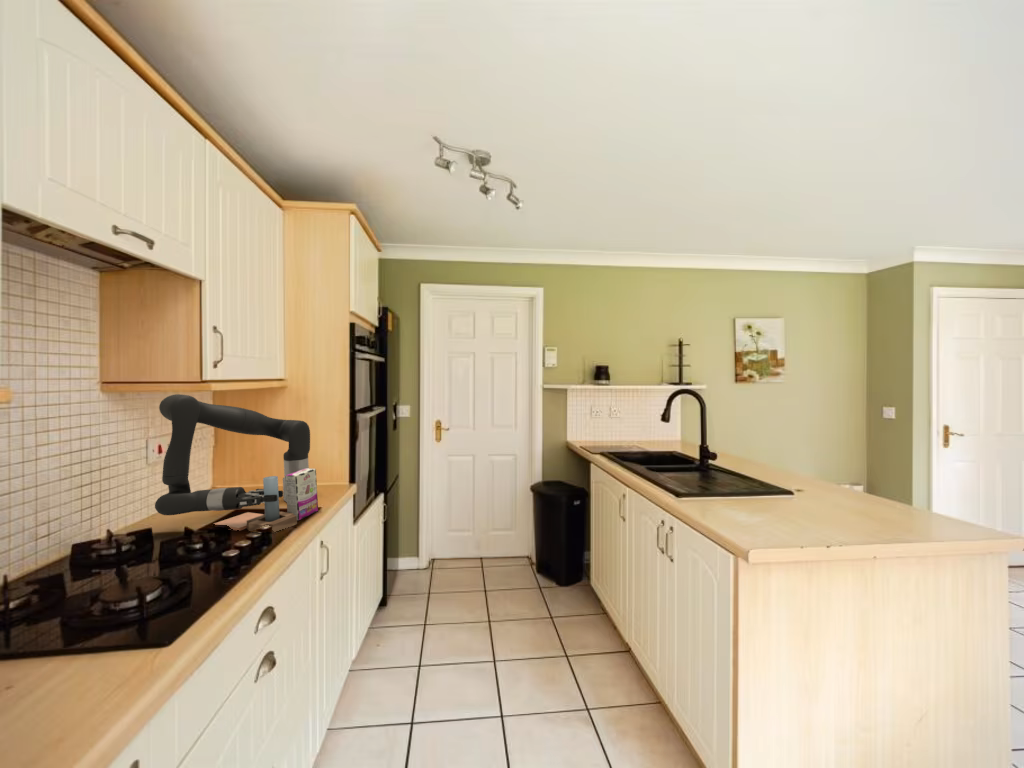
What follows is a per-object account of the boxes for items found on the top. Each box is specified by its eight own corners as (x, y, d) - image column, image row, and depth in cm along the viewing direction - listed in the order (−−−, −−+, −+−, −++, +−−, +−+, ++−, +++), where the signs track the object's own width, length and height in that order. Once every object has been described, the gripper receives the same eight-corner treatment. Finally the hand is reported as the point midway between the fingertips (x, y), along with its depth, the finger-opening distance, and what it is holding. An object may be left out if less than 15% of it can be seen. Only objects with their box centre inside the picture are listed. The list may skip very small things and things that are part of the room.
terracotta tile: (213, 526, 154) (213, 523, 154) (247, 514, 166) (247, 512, 166) (239, 530, 149) (239, 527, 149) (272, 518, 161) (272, 515, 161)
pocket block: (242, 530, 149) (242, 522, 149) (274, 519, 161) (274, 510, 160) (269, 535, 144) (268, 526, 144) (300, 522, 156) (300, 514, 156)
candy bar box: (307, 510, 170) (305, 468, 169) (318, 511, 169) (317, 468, 168) (286, 520, 159) (284, 475, 158) (298, 521, 158) (296, 475, 157)
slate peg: (262, 525, 151) (260, 478, 151) (273, 520, 155) (271, 475, 155) (271, 526, 150) (269, 479, 149) (282, 522, 154) (280, 476, 153)
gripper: (214, 494, 143) (271, 490, 145) (235, 482, 157) (287, 479, 160) (216, 517, 143) (272, 513, 146) (237, 503, 157) (288, 500, 160)
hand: (279, 495), depth 153 cm, fingers closed on slate peg, 4 cm apart
